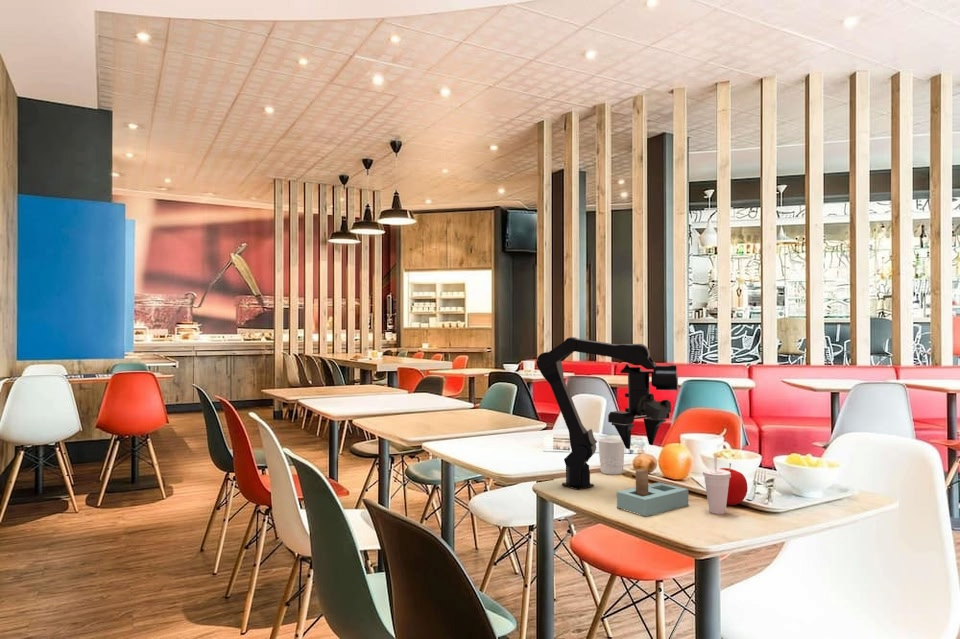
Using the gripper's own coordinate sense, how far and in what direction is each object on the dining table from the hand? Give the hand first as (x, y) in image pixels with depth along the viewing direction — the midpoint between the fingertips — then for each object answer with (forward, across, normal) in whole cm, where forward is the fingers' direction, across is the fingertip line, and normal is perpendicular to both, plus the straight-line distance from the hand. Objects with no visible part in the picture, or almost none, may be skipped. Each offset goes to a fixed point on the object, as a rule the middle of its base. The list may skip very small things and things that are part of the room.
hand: (639, 446), depth 170 cm
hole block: (+12, -9, -12) cm, 19 cm away
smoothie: (+12, 0, -24) cm, 27 cm away
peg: (+12, -13, -12) cm, 21 cm away
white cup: (+12, +10, +20) cm, 25 cm away
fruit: (+12, +9, -21) cm, 26 cm away
